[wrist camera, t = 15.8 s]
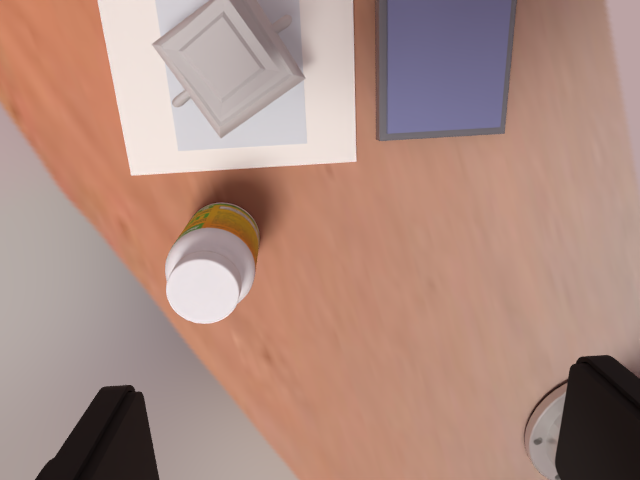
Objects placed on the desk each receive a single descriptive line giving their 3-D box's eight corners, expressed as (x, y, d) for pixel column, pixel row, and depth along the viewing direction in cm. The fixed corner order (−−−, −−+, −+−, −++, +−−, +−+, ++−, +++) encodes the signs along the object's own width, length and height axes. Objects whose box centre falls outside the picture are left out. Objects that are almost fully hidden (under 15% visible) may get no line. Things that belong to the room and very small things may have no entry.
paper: (351, -64, 27) (351, -65, 27) (355, 161, 32) (356, 161, 32) (87, -56, 26) (86, -58, 26) (132, 174, 31) (131, 175, 31)
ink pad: (511, -41, 29) (523, -48, 27) (496, 131, 32) (506, 134, 31) (375, -37, 28) (380, -43, 27) (376, 139, 32) (380, 141, 30)
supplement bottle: (210, 187, 32) (181, 227, 23) (273, 224, 33) (270, 277, 24) (174, 246, 33) (134, 307, 24) (237, 280, 34) (221, 350, 25)
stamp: (259, -27, 27) (251, -74, 19) (319, 68, 29) (333, 61, 22) (147, 59, 28) (96, 49, 20) (212, 145, 31) (189, 165, 23)
